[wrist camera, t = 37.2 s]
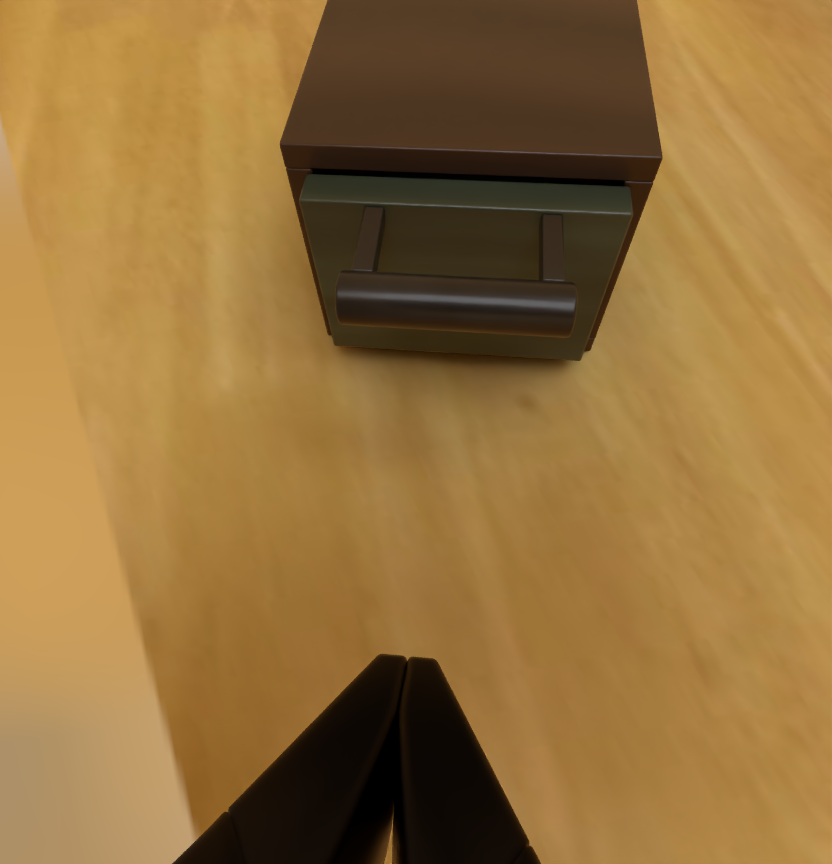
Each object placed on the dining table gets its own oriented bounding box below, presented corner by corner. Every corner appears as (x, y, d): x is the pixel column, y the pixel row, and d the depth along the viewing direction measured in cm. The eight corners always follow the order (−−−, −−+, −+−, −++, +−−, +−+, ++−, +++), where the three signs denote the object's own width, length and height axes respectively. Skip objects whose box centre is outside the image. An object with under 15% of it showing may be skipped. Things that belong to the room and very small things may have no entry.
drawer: (585, 454, 20) (651, 316, 14) (315, 434, 21) (264, 295, 15) (571, 149, 28) (609, -25, 22) (376, 142, 29) (359, -28, 22)
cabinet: (590, 351, 23) (663, 157, 16) (327, 336, 24) (278, 143, 17) (578, 137, 30) (625, -72, 22) (372, 130, 31) (351, -74, 23)
